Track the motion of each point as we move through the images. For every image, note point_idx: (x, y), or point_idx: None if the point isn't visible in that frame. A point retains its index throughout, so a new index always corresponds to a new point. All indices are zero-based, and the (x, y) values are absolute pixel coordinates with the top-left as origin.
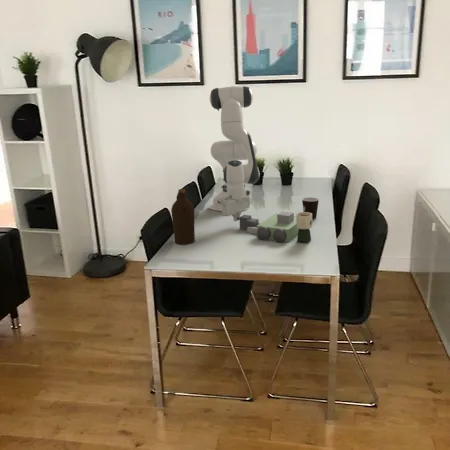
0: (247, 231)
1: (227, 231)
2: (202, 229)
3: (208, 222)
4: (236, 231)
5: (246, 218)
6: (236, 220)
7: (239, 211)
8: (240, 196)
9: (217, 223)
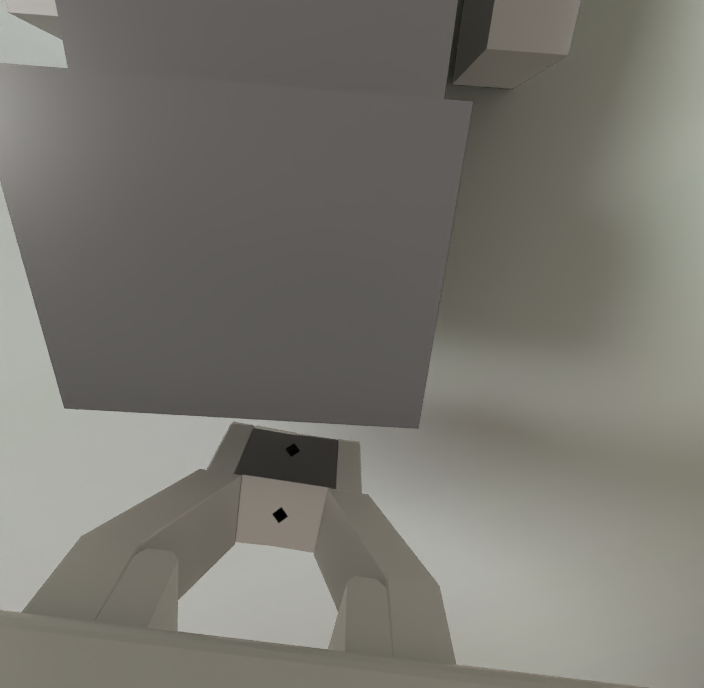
0: (522, 82)
1: (519, 425)
2: (494, 650)
3: None
4: (496, 310)
5: (461, 119)
6: (358, 448)
7: (208, 650)
8: None
9: (247, 616)
